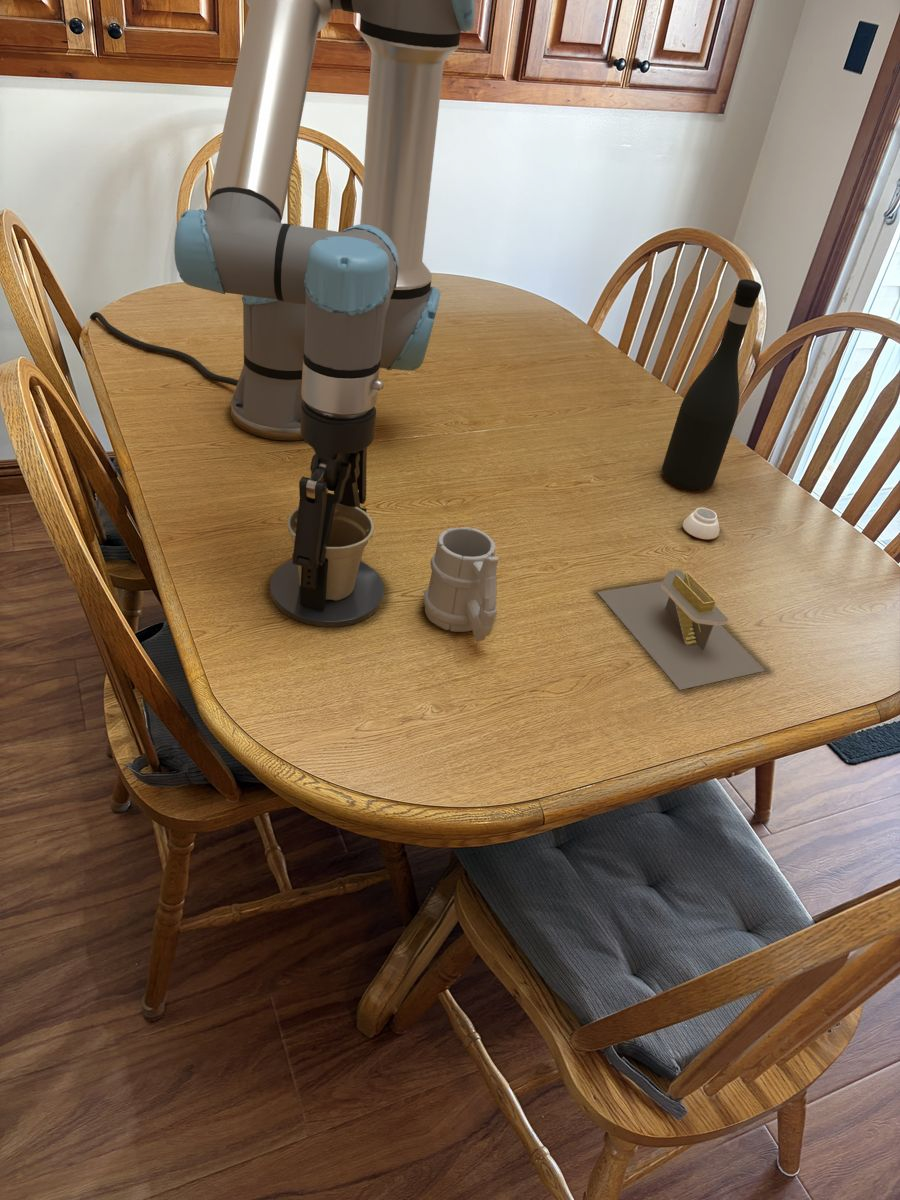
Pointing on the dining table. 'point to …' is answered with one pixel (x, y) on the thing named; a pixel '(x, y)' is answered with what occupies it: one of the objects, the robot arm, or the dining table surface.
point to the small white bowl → (702, 524)
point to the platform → (681, 630)
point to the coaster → (335, 612)
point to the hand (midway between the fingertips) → (327, 584)
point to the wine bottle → (710, 405)
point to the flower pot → (342, 548)
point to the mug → (463, 582)
